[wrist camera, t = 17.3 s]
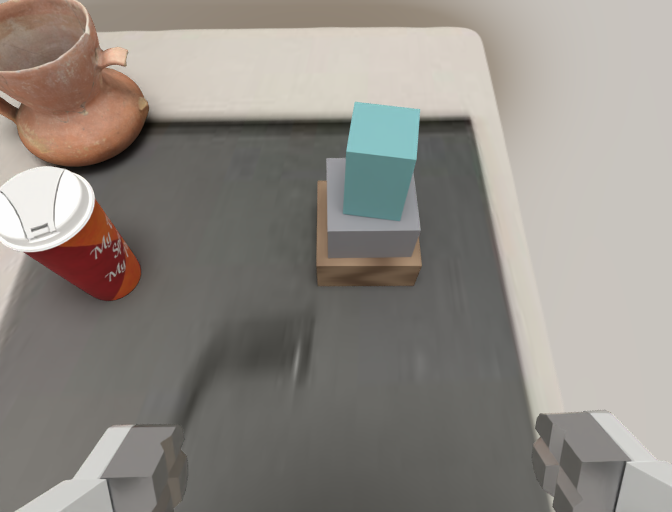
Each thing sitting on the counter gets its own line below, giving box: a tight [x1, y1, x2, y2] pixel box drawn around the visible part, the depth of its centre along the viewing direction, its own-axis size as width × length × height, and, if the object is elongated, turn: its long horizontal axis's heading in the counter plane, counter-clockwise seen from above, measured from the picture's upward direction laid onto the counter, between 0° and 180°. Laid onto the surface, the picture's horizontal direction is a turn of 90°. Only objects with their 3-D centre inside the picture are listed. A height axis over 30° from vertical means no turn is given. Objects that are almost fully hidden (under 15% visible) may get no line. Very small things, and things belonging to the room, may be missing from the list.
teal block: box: [343, 102, 420, 221], centre depth 36 cm, size 5×5×8 cm
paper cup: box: [0, 166, 141, 301], centre depth 40 cm, size 8×8×14 cm
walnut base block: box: [317, 181, 422, 286], centre depth 47 cm, size 10×10×5 cm
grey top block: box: [327, 158, 421, 258], centre depth 42 cm, size 8×8×5 cm
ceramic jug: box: [0, 0, 149, 167], centre depth 49 cm, size 18×14×14 cm
